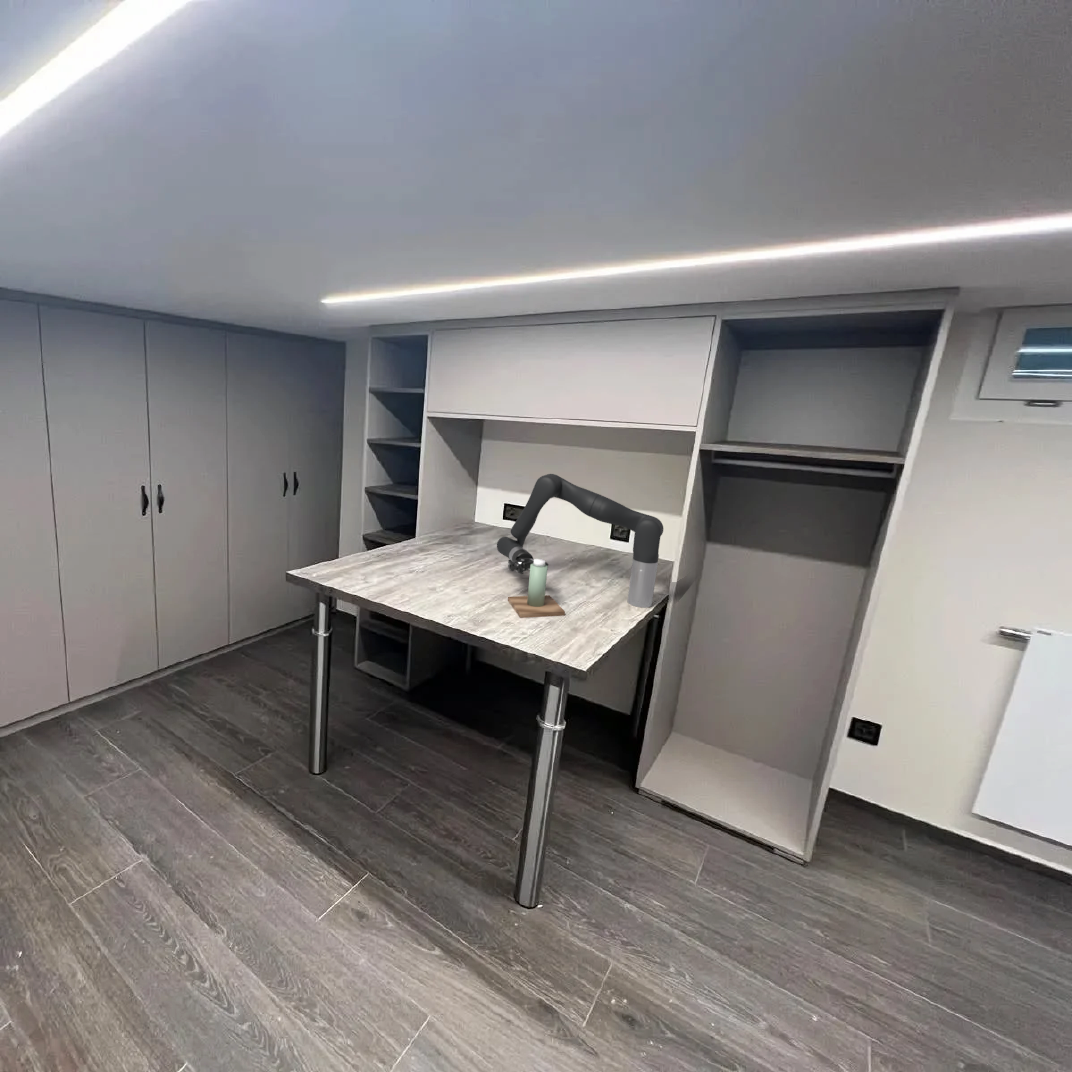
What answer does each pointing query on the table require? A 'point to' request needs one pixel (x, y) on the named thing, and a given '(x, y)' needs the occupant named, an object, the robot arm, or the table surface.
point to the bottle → (537, 583)
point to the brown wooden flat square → (529, 611)
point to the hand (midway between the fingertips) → (533, 571)
